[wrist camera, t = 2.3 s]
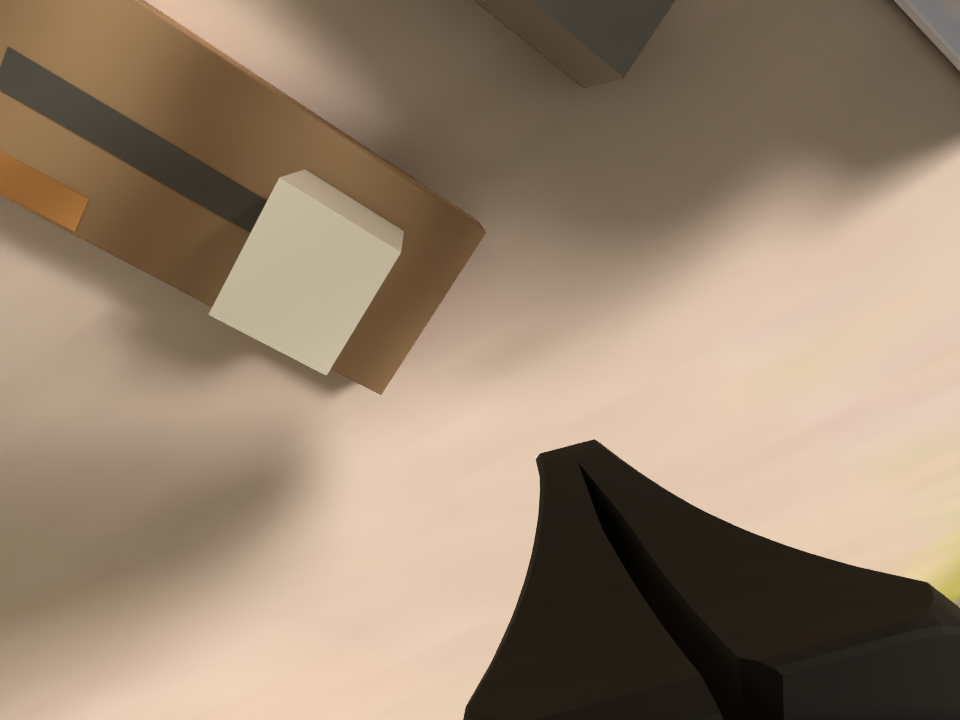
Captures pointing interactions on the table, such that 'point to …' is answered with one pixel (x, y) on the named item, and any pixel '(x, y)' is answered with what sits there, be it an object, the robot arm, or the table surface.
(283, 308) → the switch tab
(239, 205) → the switch block
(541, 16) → the bar
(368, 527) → the table surface
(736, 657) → the robot arm
